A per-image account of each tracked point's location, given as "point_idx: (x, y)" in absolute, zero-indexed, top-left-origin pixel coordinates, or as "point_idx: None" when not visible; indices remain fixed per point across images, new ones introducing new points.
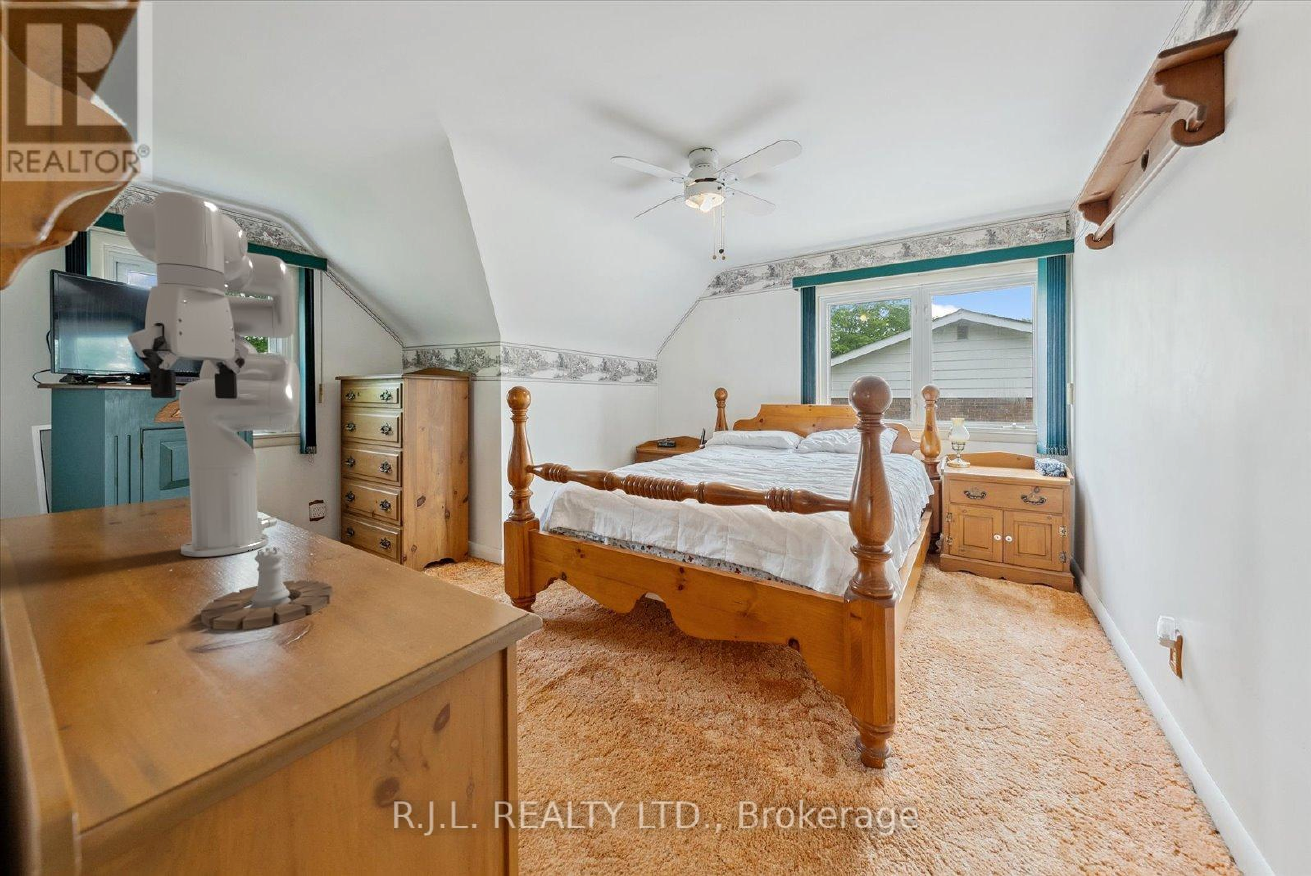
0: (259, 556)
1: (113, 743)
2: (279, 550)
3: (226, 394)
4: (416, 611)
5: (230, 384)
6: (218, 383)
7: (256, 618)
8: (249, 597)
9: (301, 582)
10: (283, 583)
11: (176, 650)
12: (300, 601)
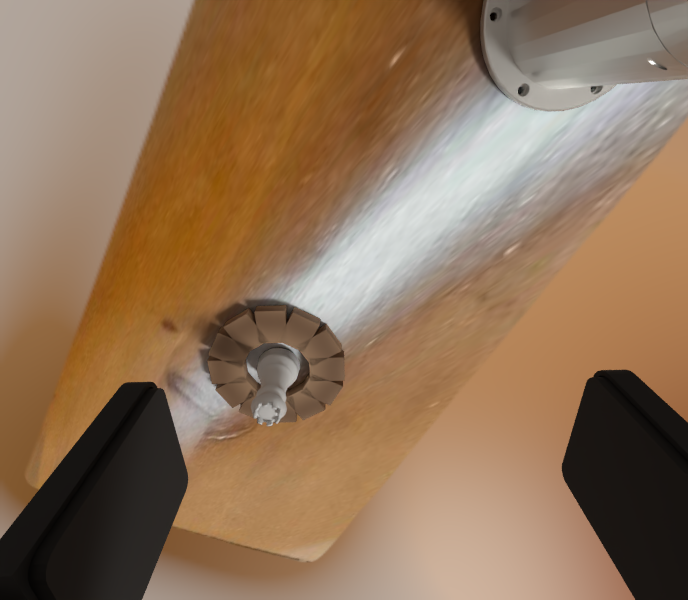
0: (253, 409)
1: (58, 438)
2: (271, 425)
3: (580, 459)
4: (302, 492)
5: (615, 557)
6: (659, 485)
7: (224, 398)
8: (276, 342)
9: (335, 365)
10: (328, 346)
11: (162, 361)
12: None
